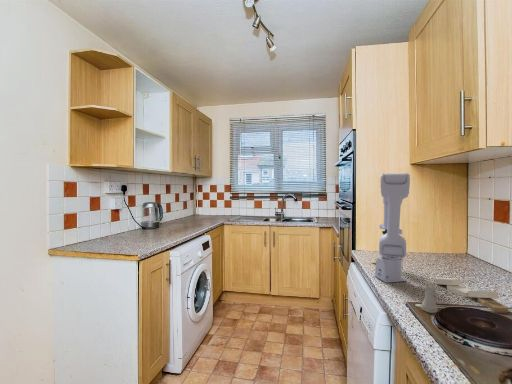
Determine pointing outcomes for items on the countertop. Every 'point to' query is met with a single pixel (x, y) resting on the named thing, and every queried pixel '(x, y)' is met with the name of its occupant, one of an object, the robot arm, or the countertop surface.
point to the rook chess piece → (429, 299)
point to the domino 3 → (483, 294)
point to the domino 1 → (447, 281)
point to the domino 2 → (458, 290)
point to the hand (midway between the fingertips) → (389, 246)
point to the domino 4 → (493, 305)
